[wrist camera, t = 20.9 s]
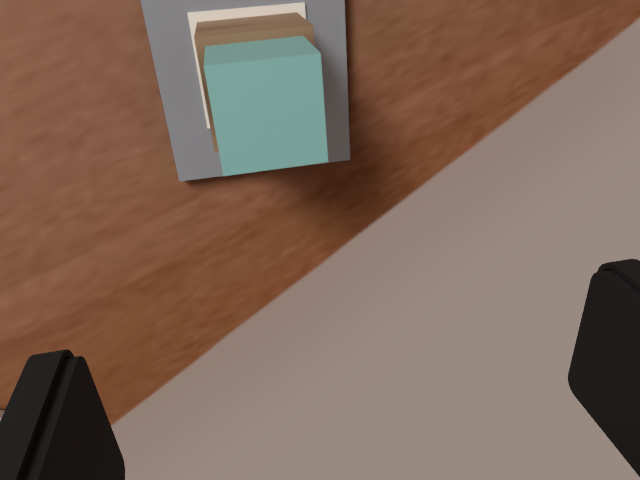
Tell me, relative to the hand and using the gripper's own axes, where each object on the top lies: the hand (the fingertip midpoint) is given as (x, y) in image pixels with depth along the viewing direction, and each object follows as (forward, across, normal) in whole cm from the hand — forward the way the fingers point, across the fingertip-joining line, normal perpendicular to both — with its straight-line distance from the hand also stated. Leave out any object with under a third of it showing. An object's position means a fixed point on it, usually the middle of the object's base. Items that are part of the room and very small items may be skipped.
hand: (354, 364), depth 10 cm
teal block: (+21, 0, 0) cm, 21 cm away
